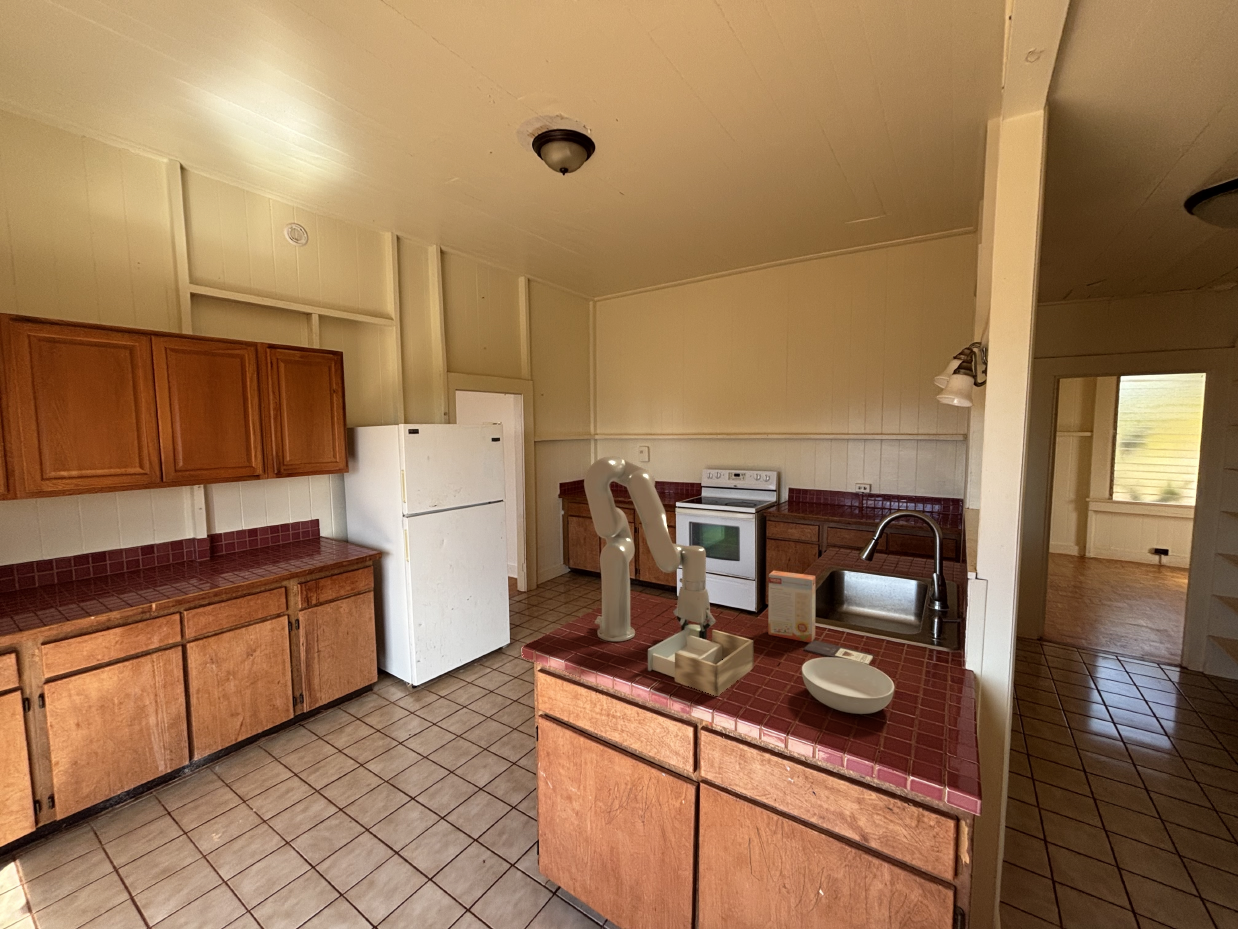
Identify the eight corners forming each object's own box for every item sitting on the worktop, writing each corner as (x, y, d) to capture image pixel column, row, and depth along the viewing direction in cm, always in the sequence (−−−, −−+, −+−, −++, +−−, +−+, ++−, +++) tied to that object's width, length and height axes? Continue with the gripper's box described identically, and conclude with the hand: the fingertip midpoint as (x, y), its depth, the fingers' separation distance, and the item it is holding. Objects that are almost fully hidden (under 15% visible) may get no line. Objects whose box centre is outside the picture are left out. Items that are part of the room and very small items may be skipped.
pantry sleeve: (674, 681, 134) (674, 652, 133) (713, 655, 150) (713, 629, 150) (717, 697, 126) (717, 666, 125) (753, 667, 142) (753, 640, 141)
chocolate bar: (812, 639, 160) (873, 654, 149) (812, 642, 160) (873, 657, 149) (803, 649, 153) (866, 665, 142) (803, 652, 153) (866, 668, 142)
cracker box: (815, 637, 163) (816, 575, 162) (811, 644, 158) (812, 579, 157) (772, 629, 171) (773, 569, 169) (767, 635, 165) (768, 573, 164)
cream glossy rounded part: (680, 641, 160) (680, 628, 160) (690, 636, 165) (690, 623, 165) (696, 646, 156) (696, 633, 156) (706, 640, 161) (706, 627, 161)
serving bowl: (850, 735, 109) (850, 705, 109) (783, 691, 128) (784, 665, 128) (914, 714, 118) (914, 685, 117) (842, 675, 137) (842, 651, 136)
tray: (647, 670, 140) (647, 649, 139) (687, 646, 156) (687, 627, 155) (686, 684, 131) (686, 662, 131) (724, 657, 148) (724, 637, 147)
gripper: (665, 582, 163) (665, 636, 163) (711, 592, 151) (711, 650, 152) (677, 577, 168) (677, 629, 169) (723, 586, 157) (723, 642, 158)
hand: (693, 638), depth 161 cm, fingers closed on cream glossy rounded part, 5 cm apart
